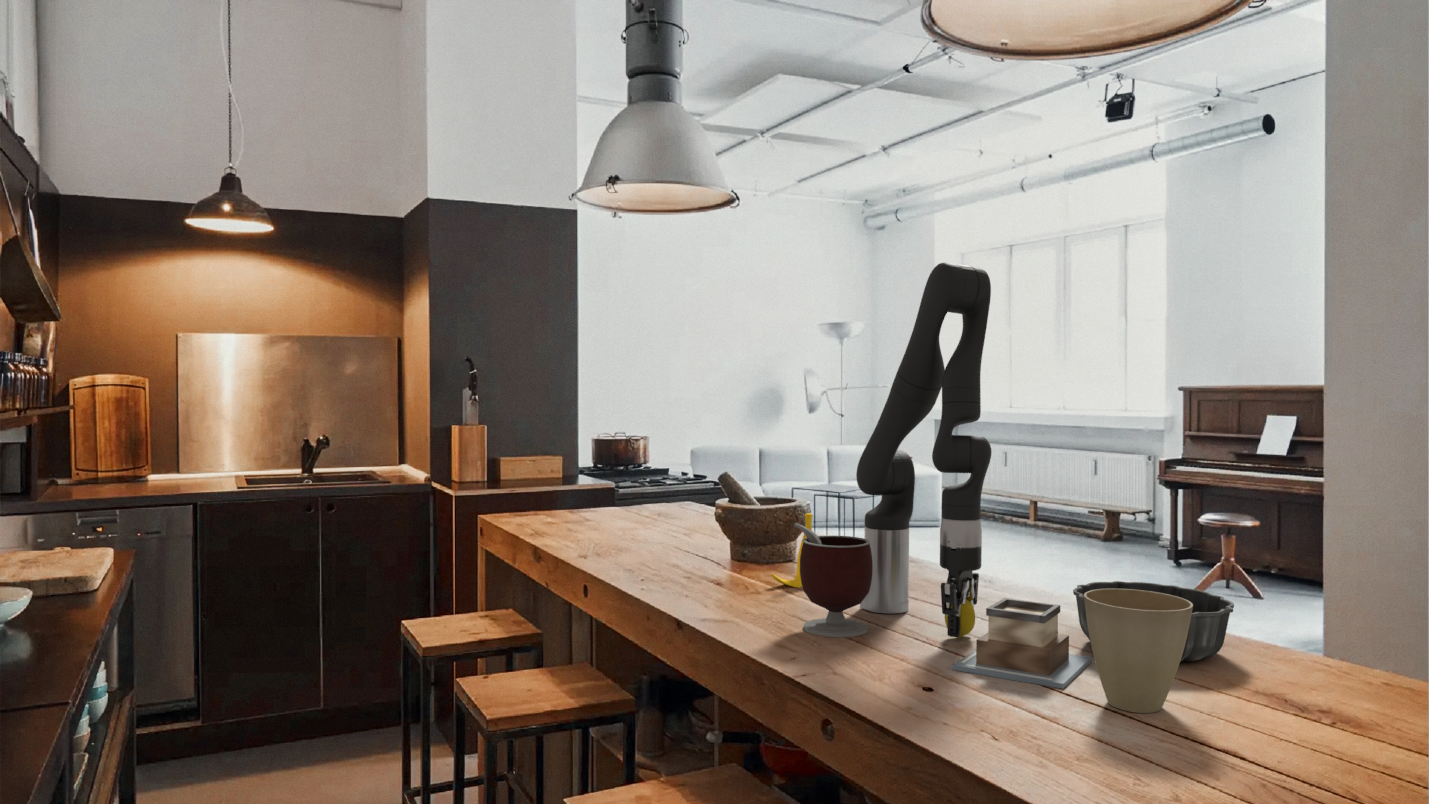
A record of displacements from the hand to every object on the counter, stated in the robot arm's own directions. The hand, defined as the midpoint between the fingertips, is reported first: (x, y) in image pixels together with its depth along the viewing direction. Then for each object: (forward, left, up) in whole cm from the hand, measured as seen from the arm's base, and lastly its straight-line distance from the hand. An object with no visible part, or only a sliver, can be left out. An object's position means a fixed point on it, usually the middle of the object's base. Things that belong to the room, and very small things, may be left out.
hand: (959, 632), depth 186 cm
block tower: (+15, -11, -1) cm, 19 cm away
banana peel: (-48, +26, -2) cm, 55 cm away
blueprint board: (+15, -11, -1) cm, 19 cm away
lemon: (0, 0, -1) cm, 1 cm away
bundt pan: (+31, +12, -1) cm, 33 cm away
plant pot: (+35, -22, -1) cm, 41 cm away
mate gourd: (-23, -7, -1) cm, 24 cm away
